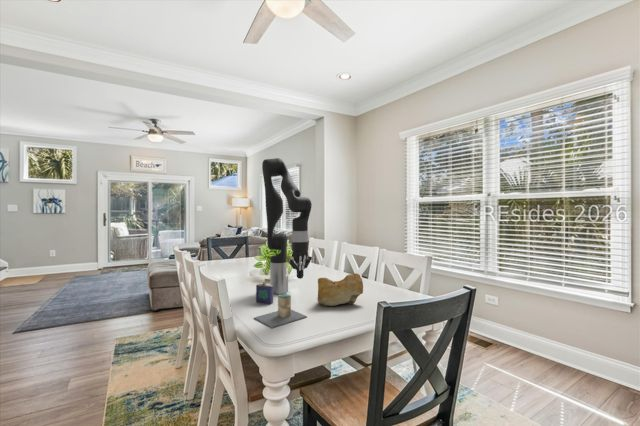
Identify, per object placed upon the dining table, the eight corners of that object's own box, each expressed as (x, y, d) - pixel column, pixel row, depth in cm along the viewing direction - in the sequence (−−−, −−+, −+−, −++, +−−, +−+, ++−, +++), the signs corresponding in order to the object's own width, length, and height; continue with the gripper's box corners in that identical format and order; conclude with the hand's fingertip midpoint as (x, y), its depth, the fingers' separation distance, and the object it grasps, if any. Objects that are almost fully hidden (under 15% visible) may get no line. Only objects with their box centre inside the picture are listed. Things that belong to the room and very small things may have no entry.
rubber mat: (287, 309, 145) (287, 308, 145) (306, 317, 135) (306, 316, 135) (254, 318, 133) (254, 317, 133) (271, 328, 123) (271, 326, 123)
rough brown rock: (357, 297, 166) (355, 270, 167) (365, 305, 150) (364, 274, 150) (314, 301, 163) (313, 272, 164) (318, 308, 146) (317, 277, 147)
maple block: (285, 313, 138) (285, 293, 138) (290, 315, 135) (290, 295, 135) (278, 315, 136) (277, 295, 135) (283, 317, 133) (283, 297, 132)
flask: (274, 302, 155) (273, 281, 155) (271, 304, 152) (271, 283, 152) (257, 301, 158) (257, 280, 157) (254, 303, 155) (254, 281, 155)
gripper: (306, 238, 148) (306, 274, 148) (283, 240, 139) (283, 279, 139) (316, 240, 142) (316, 277, 142) (293, 242, 133) (293, 282, 134)
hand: (300, 278), depth 141 cm, fingers closed
